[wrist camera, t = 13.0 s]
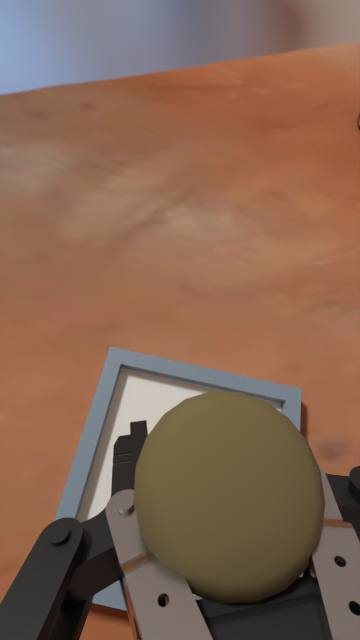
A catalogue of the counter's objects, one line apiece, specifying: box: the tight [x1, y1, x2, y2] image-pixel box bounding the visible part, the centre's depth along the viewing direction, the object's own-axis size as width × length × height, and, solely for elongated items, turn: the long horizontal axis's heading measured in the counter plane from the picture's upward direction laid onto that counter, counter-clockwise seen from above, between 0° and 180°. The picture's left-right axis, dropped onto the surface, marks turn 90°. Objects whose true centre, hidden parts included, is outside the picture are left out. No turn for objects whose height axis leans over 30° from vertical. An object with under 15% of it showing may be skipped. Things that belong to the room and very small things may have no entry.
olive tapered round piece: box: [133, 391, 325, 604], centre depth 12 cm, size 6×6×11 cm
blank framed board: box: [54, 347, 302, 611], centre depth 19 cm, size 13×13×1 cm
